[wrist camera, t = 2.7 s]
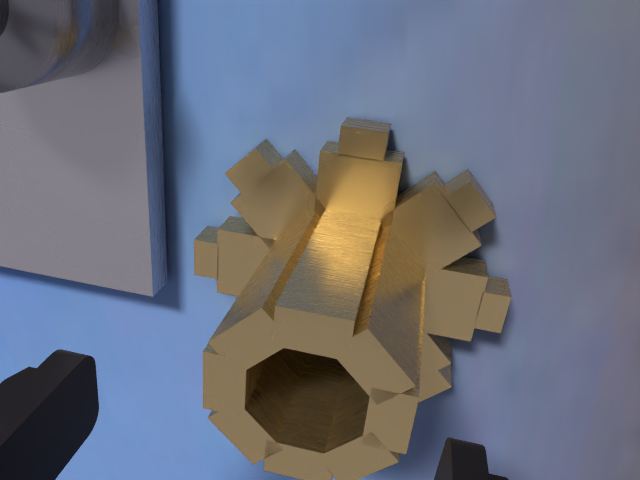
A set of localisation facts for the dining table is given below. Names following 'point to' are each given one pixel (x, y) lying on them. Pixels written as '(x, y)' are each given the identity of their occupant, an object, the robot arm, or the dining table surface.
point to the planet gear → (340, 303)
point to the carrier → (82, 142)
